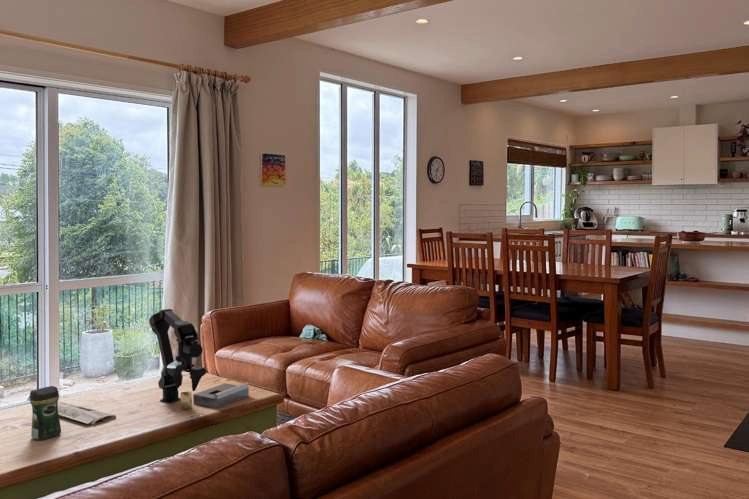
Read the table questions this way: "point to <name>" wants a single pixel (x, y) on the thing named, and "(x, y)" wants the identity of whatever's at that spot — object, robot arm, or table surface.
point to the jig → (221, 395)
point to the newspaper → (82, 413)
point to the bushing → (186, 401)
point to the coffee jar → (45, 413)
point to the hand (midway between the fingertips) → (185, 389)
